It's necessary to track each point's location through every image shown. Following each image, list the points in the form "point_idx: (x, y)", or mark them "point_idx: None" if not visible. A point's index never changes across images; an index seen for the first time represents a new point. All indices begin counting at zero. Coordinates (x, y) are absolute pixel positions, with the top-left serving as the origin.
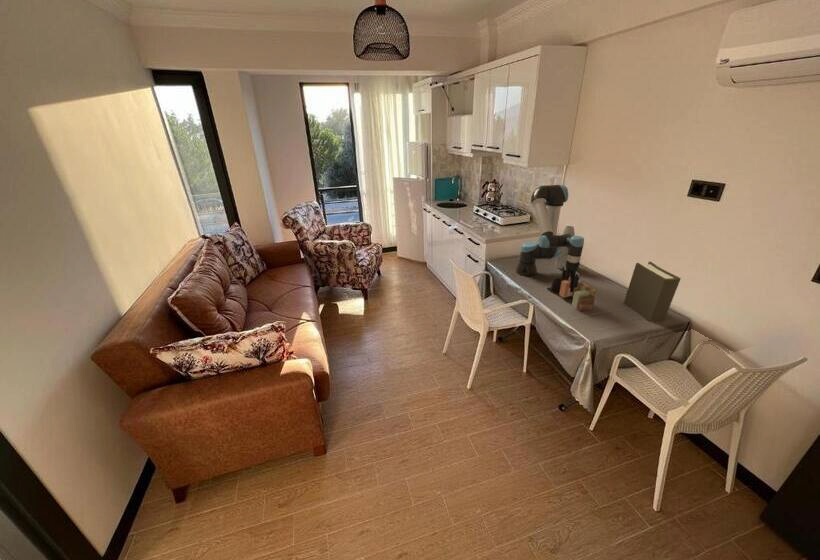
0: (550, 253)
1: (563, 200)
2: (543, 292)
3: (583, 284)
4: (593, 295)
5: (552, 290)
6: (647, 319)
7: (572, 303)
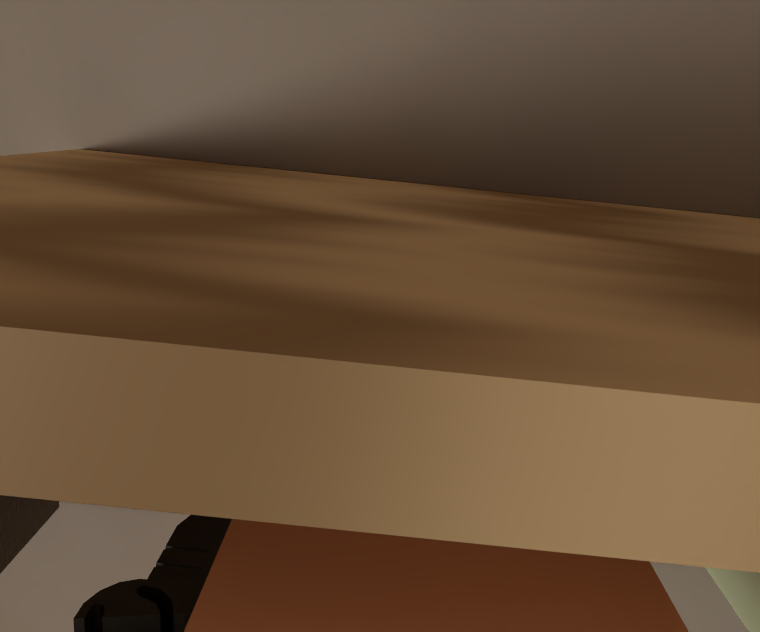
0: None
1: None
2: (15, 625)
3: None
4: None
5: (35, 506)
6: None
7: (749, 615)
